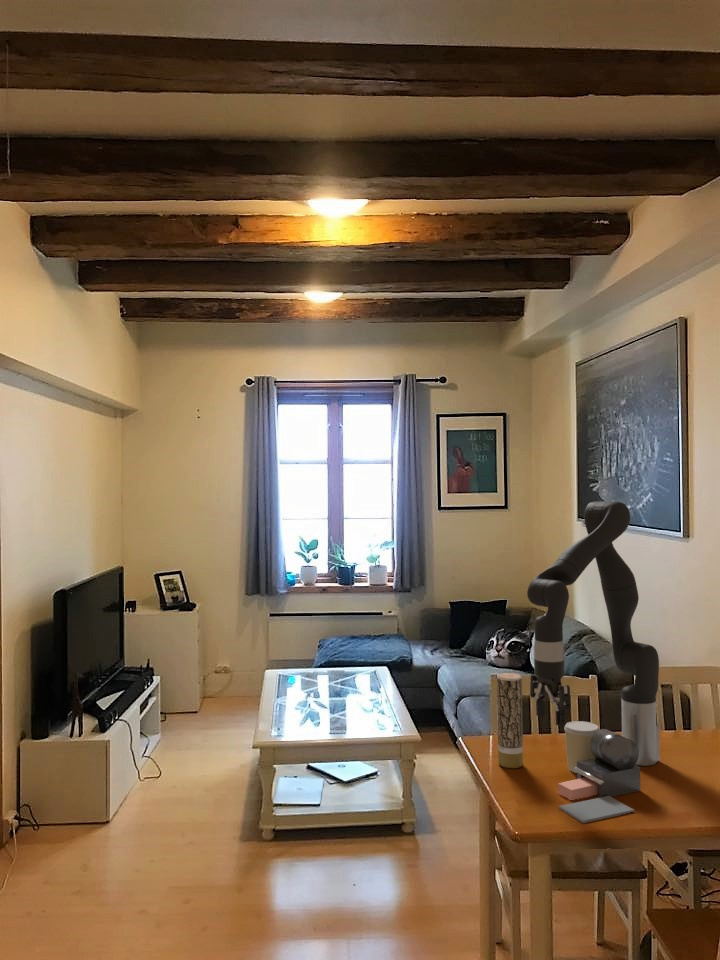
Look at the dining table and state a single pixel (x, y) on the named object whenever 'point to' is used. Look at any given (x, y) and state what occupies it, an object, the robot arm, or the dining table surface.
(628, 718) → the robot arm
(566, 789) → the pink block
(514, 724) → the bark print canister
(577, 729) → the coffee cup
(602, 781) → the dispenser
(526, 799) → the dining table surface
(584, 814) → the mat
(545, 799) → the dining table surface
